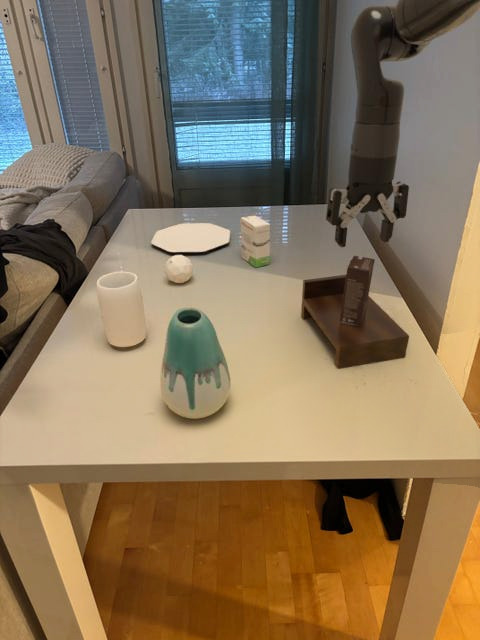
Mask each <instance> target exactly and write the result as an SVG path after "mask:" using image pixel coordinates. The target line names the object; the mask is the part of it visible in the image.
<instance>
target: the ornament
mask: <svg viewBox="0 0 480 640" xmlns="http://www.w3.org/2000/svg"><path fill="white" fill-rule="evenodd" d="M164 273H165V275H166V277H167V279H168V280H169V281H171V282H173V283H175V284H183V283H185V282H187V281H189V280H190V278H191V277H192V275H193V273H194V266H193V264H192V261H191V259H190V258H188V257H187V256H184V255H183V254H175V255H172V256H171V257H169V258H168V259H167V261H166V262H165V265H164Z"/></svg>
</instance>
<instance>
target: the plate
mask: <svg viewBox="0 0 480 640" xmlns="http://www.w3.org/2000/svg"><path fill="white" fill-rule="evenodd" d="M153 235H154V236H153V238H152V239H151V241H150V244H151V245H152V246H154V247H156V248H158V249H160V250H163V251H164V252H167V253H170V254H197V253H199V254H200V253H201V254H203V253H208V252H209V251H212V250H215V249H217V248H220V247H222V246H226V245H228V244H229V243H230V239H231V230H230V229H228V228H225V227H223V226H219V225H216V224H213V223H209V222H203V223H200V222H199V223H198V222H197V223H194V222H192V223H191V222H190V223H178V224H175V225H172V226H169V227H166V228H162V229H159V230H156V232H155V233H154V234H153Z"/></svg>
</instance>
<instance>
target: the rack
mask: <svg viewBox="0 0 480 640" xmlns="http://www.w3.org/2000/svg"><path fill="white" fill-rule="evenodd" d="M345 281H346V274H341V275H333V276H325V277H317V278H309V279H303V280H302V293H301V295H302V297H301V313H300V314H301V315H300V316H301V318H302V319H303V320H311V319H313V320H314V321H315V323H316V324H317V325H318V327H319V328H320V330H321V331H322V332H323V334H324V335H325V336H326V338H327V339H328V340H329V342H330V344H332V346H333V347H334V348H335V355H334V356H335V358H334V366H335V367H336V369H337V370H339V369H343V368H349V367H356V366H363V365H368V364H369V365H370V364H374V363H379V362H380V363H381V362H386V361H392V360H398V359H403V358H406V354H407V349H408V345H409V341H410V340H409V339H410V335H409V334H408V333H407V332H406V331H405V330H404V329H403V327H401V326H400V325H399V324H398V323H397V322H396V321H395V320H394V319H393V318H392V317H391V316H390V315H389V314H388V313H387V312H386V311H385V310H384V309H383V308H382V306H380V305H379V304H378V303H376V301H375V300H374V299H373V298H371V296H370V295H369V296H368V302H367V308H366V313H365V315H364V317H363V320H362V323H361V326H358V325H351V324H346V323H342V322H340V316H341V309H342V302H343V295H344V288H345Z"/></svg>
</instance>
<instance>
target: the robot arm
mask: <svg viewBox="0 0 480 640" xmlns="http://www.w3.org/2000/svg"><path fill="white" fill-rule="evenodd" d="M479 10H480V0H397V3H396V5H370V6H367V7H365V8H363V9H362V10H361V11H360V12H359V13H358V15H357V16H356V17H355V20H354V21H353V25H352V27H351V32H350V48H351V55H352V60H353V67H354V73H355V74H354V75H355V82H356V83H355V84H356V89H357V90H356V91H357V98H356V106H355V117H354V126H353V131H352V135H351V144H350V153H349V154H350V155H349V163H348V166H349V167H348V173H347V174H348V176H347V178H348V180H347V181H348V183H347V186H346V188H343V189H342V188H339V189H338V188H336V187H335V186H334V187H331V188H330V189H329V192H328V200H327V206H326V207H327V208H326V215H325V221H326V222H328V223H329V224H330V225H331V226H335V232H334V242H335V243H336V244H337V245H338V246H339V247H340V248H346V246H347V236H348V227H347V226H348V225H349V224H350V222H351V221H352V220H353V219H355V218H356V217H357V216H358V215H359V213H360V214H366V213H368V212H372V213H378V212H380V214H381V215H382V217H383V219H382V220H381V225H380V232H379V240H380V241H382V242H384V243H389V242H390V239H392V237H393V231H394V227H395V222H396V221H398V220H399V219H405V217H406V216H407V210H408V209H407V208H408V200H409V191H410V186H409V185H408V184H406V183H404V182H403V181H397V182H396V183H395V184H393V181H394V179H395V172H396V166H397V159H398V153H399V144H400V139H401V138H400V136H401V119H402V112H403V107H404V106H403V104H404V99H405V86H404V85H405V84H404V83H403V82H401V81H400V80H398V79H393V78H388V77H385V76H384V73H383V70H382V66H381V63H382V62H383V63H385V62H402V61H407V60H410V59H413V58H415V57H417V56H419V54H421V53H422V52H423V51H424V50H425V49H426V47H427V46H429V45H430V44H431V42H432V41H433V40H435V39H437V38H440V37H441V36H443V35H445V34H447V33H449V32H451V31H453V30H455V29H457V28H459V27H460V26H462V25H463V24H465V23H466V22H468V21H469V20H470V19H471V18H472V17H474V16H475V15H476V13H477V12H478V11H479ZM392 195H393V208H392V207H391V204H390V203H389V202H388V200H389V198H390V197H391V196H392ZM345 197H346V199H347V201H345V204H344V205H343V206H342V208H341V203H343V202H344V199H345ZM340 210H341V211H340Z"/></svg>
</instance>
